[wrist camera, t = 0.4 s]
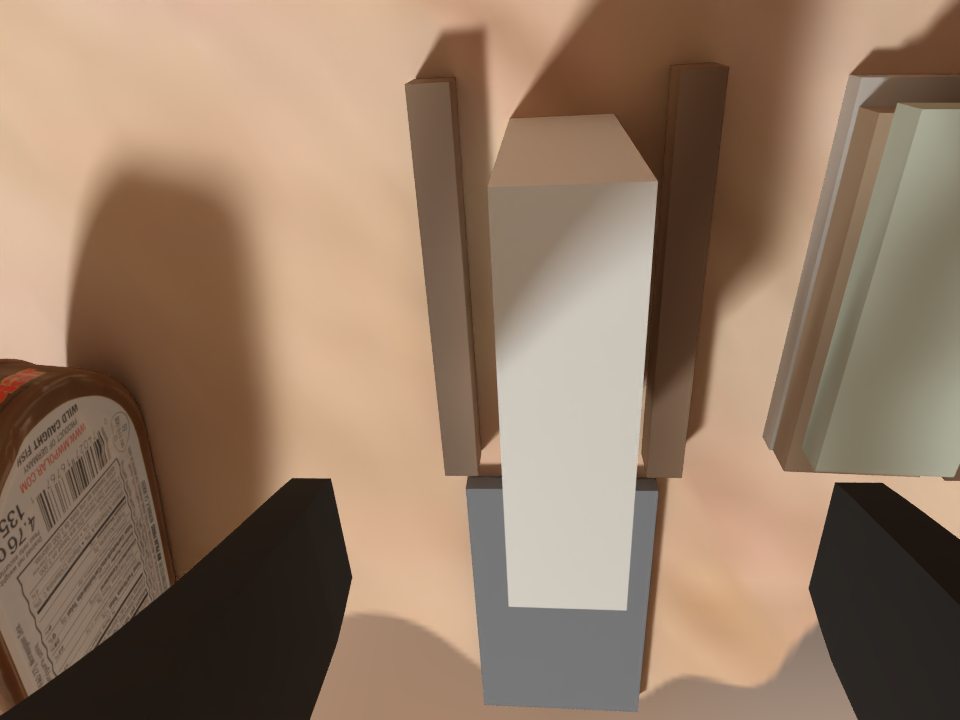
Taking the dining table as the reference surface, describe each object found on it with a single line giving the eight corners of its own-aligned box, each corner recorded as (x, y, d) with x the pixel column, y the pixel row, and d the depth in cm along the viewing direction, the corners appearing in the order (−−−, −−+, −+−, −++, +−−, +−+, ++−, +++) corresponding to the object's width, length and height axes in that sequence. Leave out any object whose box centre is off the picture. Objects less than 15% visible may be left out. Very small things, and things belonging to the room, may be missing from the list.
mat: (655, 478, 20) (658, 491, 20) (635, 697, 26) (637, 712, 25) (468, 476, 21) (465, 488, 21) (485, 690, 26) (484, 704, 26)
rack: (1108, 41, 14) (1155, 43, 13) (958, 454, 19) (982, 480, 18) (414, 79, 15) (404, 84, 14) (450, 451, 21) (445, 475, 20)
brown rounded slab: (45, 309, 20) (-257, 490, 12) (146, 320, 19) (-96, 511, 12) (132, 638, 27) (-25, 877, 19) (206, 648, 27) (77, 892, 19)
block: (613, 113, 16) (658, 180, 9) (601, 424, 20) (626, 610, 14) (509, 118, 16) (487, 187, 10) (519, 424, 20) (508, 606, 14)
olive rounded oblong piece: (1026, 72, 15) (1131, 86, 12) (896, 435, 19) (951, 501, 17) (842, 73, 15) (907, 87, 12) (759, 429, 20) (792, 494, 17)
